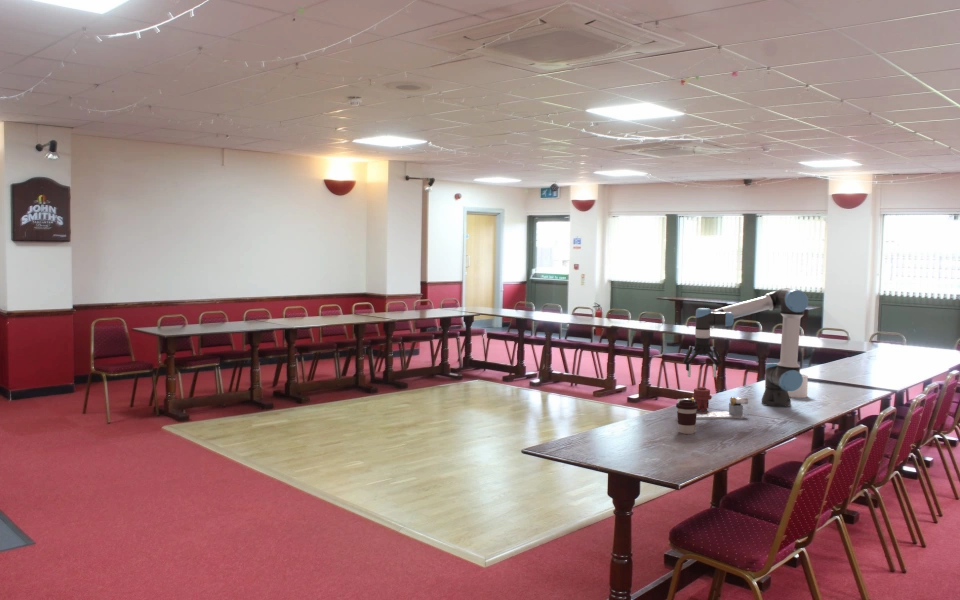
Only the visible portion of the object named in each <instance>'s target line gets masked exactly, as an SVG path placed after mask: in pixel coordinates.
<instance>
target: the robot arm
mask: <svg viewBox="0 0 960 600" xmlns="http://www.w3.org/2000/svg"><path fill="white" fill-rule="evenodd" d="M808 306H809V297H808V295H807V294H806V293H805V292H804V291H802V290H800V289H797V288H789V287H788V288H787V287H786V288H781V289H777V290H774V291H771V292H767V293H765V294H764V296H759V297H757V298H753V299H748V300H745V301H741V302H738V303H735V304H730V305H727V306H722V307H719V308H717V309H716V308H715V309H710V308H709V307H708V308H707V307H706V308H705V307H699V308H696V310H695V329H694V330H695V335H694V336H695V339H694V346H691V345H689V346H688V350H687V352H686V354H685V356H684V357H683V360H682V363H683V364H684V365H685V371H687V377H688V378H691V376H692V375H691V371H692V368H691V367H692V366H691V363H692V362H693V361H694V360H695V359H696V358H697V356H698V355H699V356H702V355H704V356H706V355H707V356H708V357H709V359H710V360H711V362H713V363H712V377H713V378H716V377H717V371H718V370H719V369H718V368H719V365H720V364H722V361H721V358H720V356H719V354H718V352H717V347H716V346H714V345H712V346H710V343H711V341H710V340H711V339H710V337H711V327H731V326H733V324H734V320H735V319H737V318H740V317H741V318H742V317H745V316H749V315H753V314H756V313H759V312H763V311H767V310H769V311H775V310H780V312H779V313H780V315H781V316H782V326H781V343H780V344H781V345H780V358H779V361H778V362H767V363H765V372H764V373H765V377H764V379H765V380H764V381H765V383H764V388H765V389H764V392H763V395H762V397H761V404H762V405H764V406H769V407H779V408H781V407H785V408H786V407H790V406H792V399H791V397H789V394H788V391H795V390H797V389H798V388H799V387H800V386H801V385H802V382H803V377H802V375H803V374H802V373H801V372H800V371H801V365H800V364H799V363H798V360H799V359H798V358H799V357H798V356H799V344H800V343H799V342H800V341H799V340H800V329H801V318H802V317H803V316H805V310H806V309H807V308H808ZM710 350H711V351H712V353H713V355H714V356H713V355H712V353H710ZM693 351H694V352H693ZM692 352H693V354H692ZM691 354H692V355H691ZM714 357H715V358H714ZM801 374H802V375H801Z"/></svg>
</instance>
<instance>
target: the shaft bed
mask: <svg viewBox="0 0 960 600" xmlns="http://www.w3.org/2000/svg"><path fill="white" fill-rule="evenodd" d="M680 400H692V401H694V402H695V399H694V398H692V397H690V398H677V400H676V401H677V402H676V404H677V403H679V401H680ZM748 404H749V398H747V397H740V398H739V397H737V398H735V396H731V397H730V399H729V404H728V411H703V412H701V411H696V412H697V416H696V420H713V419H714V420H719V419H720V420H722V419H723V420H724V419H726V420H727V419H730V420H731V419H745V417H746V416H744V415H743V413H744V412H743V410H744V406H743V405H748Z"/></svg>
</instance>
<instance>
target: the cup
mask: <svg viewBox="0 0 960 600" xmlns="http://www.w3.org/2000/svg"><path fill="white" fill-rule="evenodd" d="M800 374H801V375H802V377H803V382H802V385H801V386H800V387H799V388H798V389H797V390H795V391H788V394H789V397H790V398H797V399H798V398H799V399H800V398H801V399H804V398H807V397H808V384H809V383H808V378H809V377H808V375H806V374H802V373H800Z"/></svg>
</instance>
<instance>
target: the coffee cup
mask: <svg viewBox="0 0 960 600" xmlns="http://www.w3.org/2000/svg"><path fill="white" fill-rule="evenodd" d="M675 407H676V409H677V411H676V412H677V413H676V414H677V424H678V425H677V426H678V432H679V433H680V434H686V435H693V434H694V433H696V432H695V431H696V424H697V419H696V416H697V412H698V410H697V408H698V405H697V404H695V402H694V401H692V400H680V401H679V403H677V402H676V403H675Z"/></svg>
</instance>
